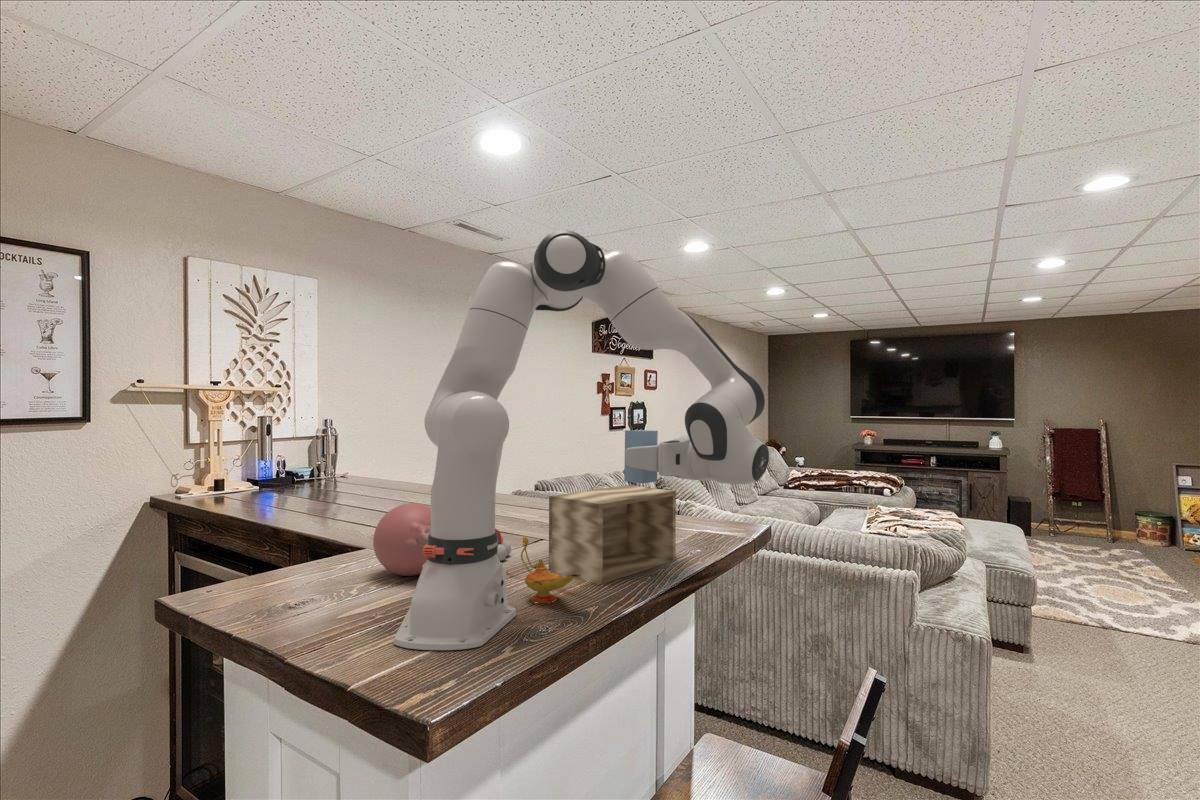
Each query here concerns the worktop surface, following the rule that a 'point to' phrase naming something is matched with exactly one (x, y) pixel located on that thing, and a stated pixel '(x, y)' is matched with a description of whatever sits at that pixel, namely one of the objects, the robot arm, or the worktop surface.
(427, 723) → the worktop surface
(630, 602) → the worktop surface
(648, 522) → the birch cubby
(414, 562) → the pink ball
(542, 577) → the magic lamp
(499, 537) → the multicolored small figure
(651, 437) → the slate block
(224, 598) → the worktop surface
